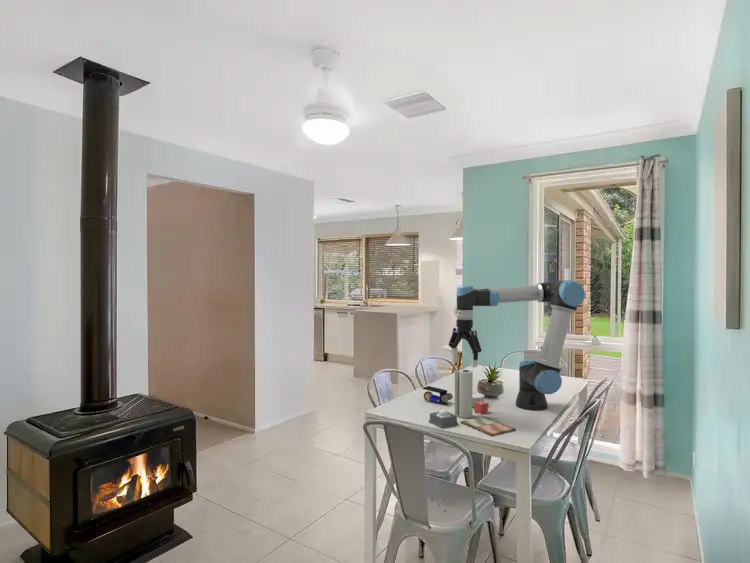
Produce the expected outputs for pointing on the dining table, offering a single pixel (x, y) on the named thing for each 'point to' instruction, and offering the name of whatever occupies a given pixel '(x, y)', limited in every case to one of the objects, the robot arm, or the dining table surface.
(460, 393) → the paper towel roll
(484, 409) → the red die
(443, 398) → the figurine character
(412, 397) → the dining table surface
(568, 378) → the dining table surface
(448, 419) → the button base
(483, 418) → the game board
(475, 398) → the ramekin
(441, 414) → the pop dome
